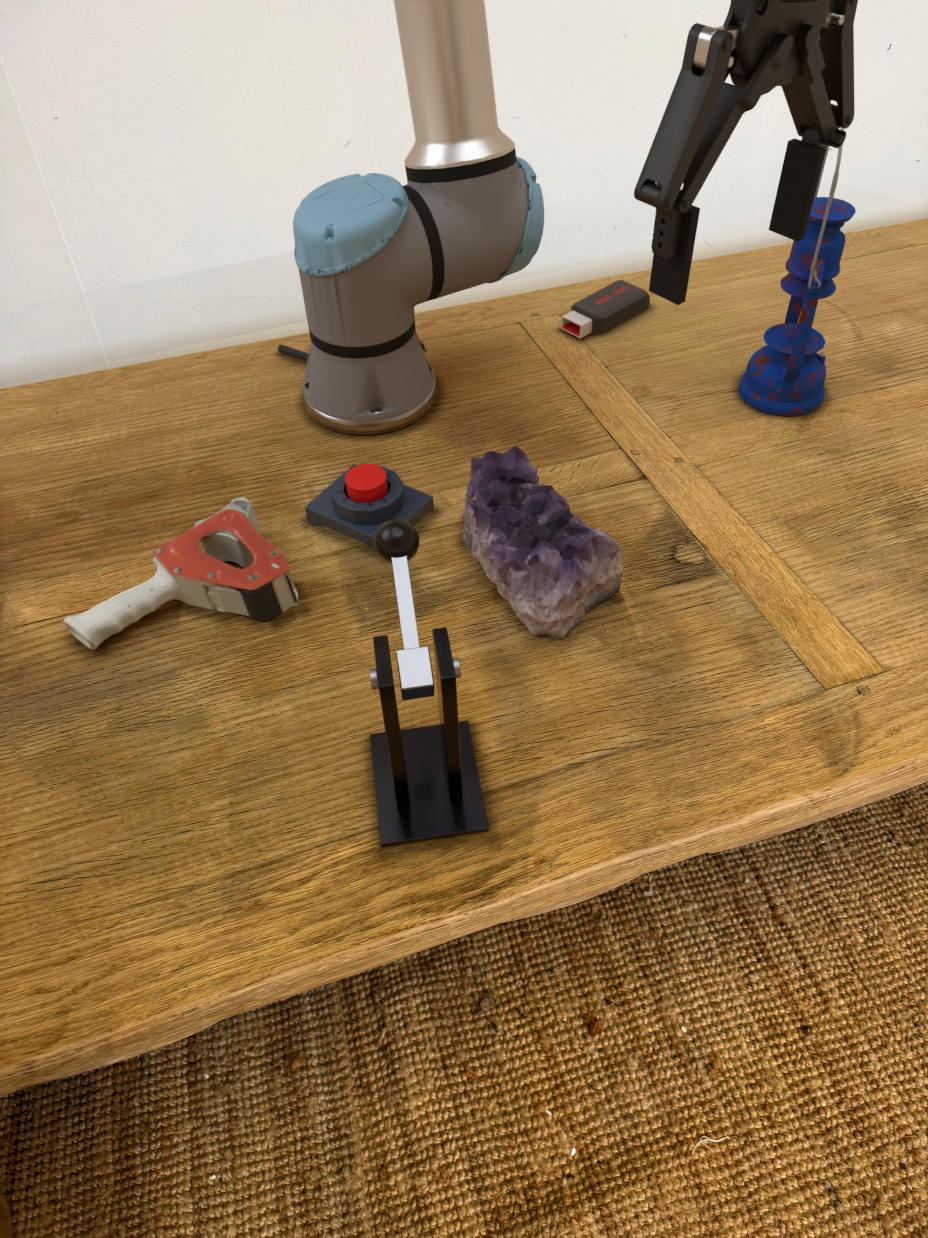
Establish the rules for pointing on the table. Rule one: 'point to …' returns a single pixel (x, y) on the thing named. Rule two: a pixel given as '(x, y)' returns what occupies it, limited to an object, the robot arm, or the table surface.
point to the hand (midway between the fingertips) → (728, 264)
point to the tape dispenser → (202, 577)
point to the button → (366, 483)
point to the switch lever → (406, 608)
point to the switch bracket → (424, 760)
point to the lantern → (801, 315)
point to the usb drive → (605, 309)
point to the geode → (536, 545)
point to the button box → (367, 508)
